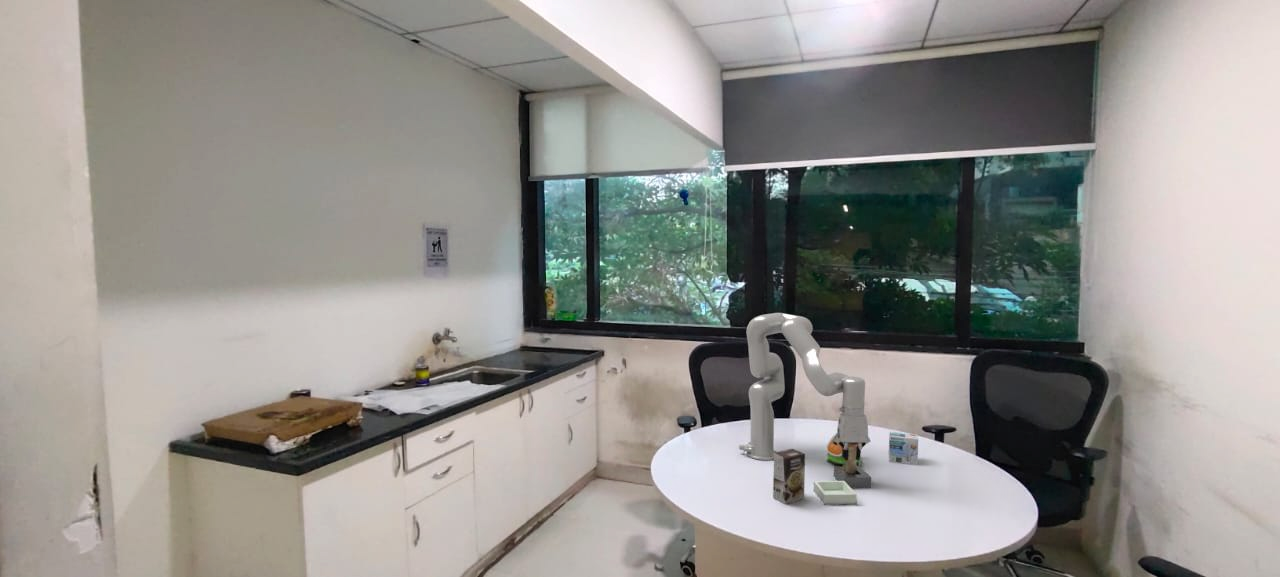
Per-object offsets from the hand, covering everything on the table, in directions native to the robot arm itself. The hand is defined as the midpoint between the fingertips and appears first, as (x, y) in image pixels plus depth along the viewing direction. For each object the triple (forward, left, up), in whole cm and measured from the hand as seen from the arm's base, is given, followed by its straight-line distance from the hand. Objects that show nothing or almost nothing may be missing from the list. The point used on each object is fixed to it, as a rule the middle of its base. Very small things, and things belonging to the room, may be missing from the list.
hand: (851, 458), depth 203 cm
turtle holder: (+5, +19, -9) cm, 21 cm away
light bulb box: (+29, +20, -9) cm, 37 cm away
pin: (0, 0, -6) cm, 6 cm away
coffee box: (-27, -12, -9) cm, 31 cm away
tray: (-11, -12, -9) cm, 19 cm away
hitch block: (0, 0, -9) cm, 9 cm away
